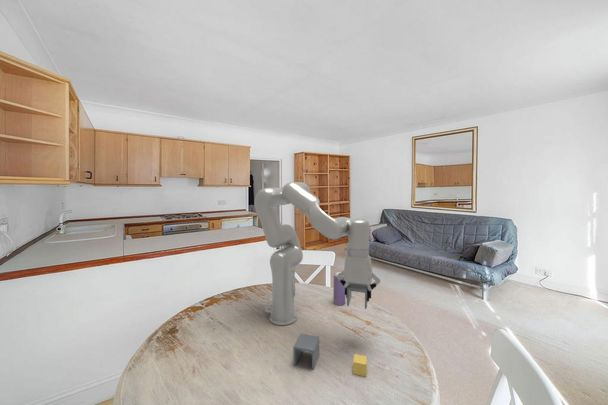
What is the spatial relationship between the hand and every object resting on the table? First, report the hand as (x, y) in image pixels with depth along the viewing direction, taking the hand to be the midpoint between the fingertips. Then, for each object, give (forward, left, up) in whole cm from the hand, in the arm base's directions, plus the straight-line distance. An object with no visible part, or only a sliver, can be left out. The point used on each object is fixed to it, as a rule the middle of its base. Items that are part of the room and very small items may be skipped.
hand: (357, 298), depth 94 cm
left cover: (-16, -14, -18) cm, 28 cm away
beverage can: (-12, +30, -18) cm, 37 cm away
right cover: (0, 0, -2) cm, 2 cm away
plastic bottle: (-40, +32, -18) cm, 54 cm away
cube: (+2, -15, -18) cm, 23 cm away
